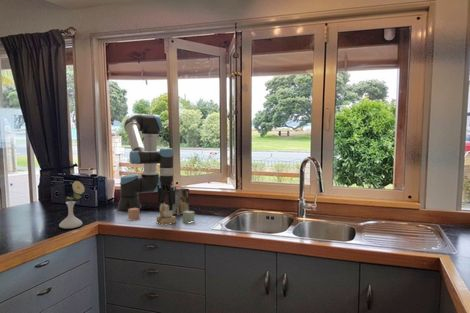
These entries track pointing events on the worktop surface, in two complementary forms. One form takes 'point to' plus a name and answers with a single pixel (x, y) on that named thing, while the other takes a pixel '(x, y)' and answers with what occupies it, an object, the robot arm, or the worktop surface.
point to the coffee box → (181, 201)
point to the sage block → (188, 216)
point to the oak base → (166, 220)
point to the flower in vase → (71, 219)
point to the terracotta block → (133, 213)
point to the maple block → (163, 211)
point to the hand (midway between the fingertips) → (166, 215)
